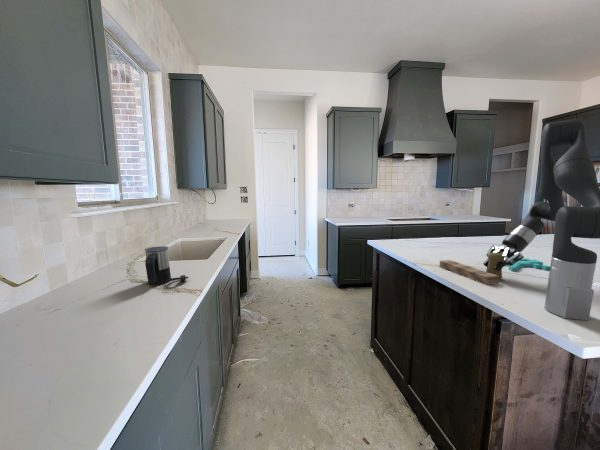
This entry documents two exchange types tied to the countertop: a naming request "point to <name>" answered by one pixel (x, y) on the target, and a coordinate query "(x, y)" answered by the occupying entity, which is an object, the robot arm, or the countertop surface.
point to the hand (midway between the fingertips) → (490, 267)
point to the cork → (494, 264)
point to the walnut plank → (470, 272)
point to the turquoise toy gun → (528, 264)
